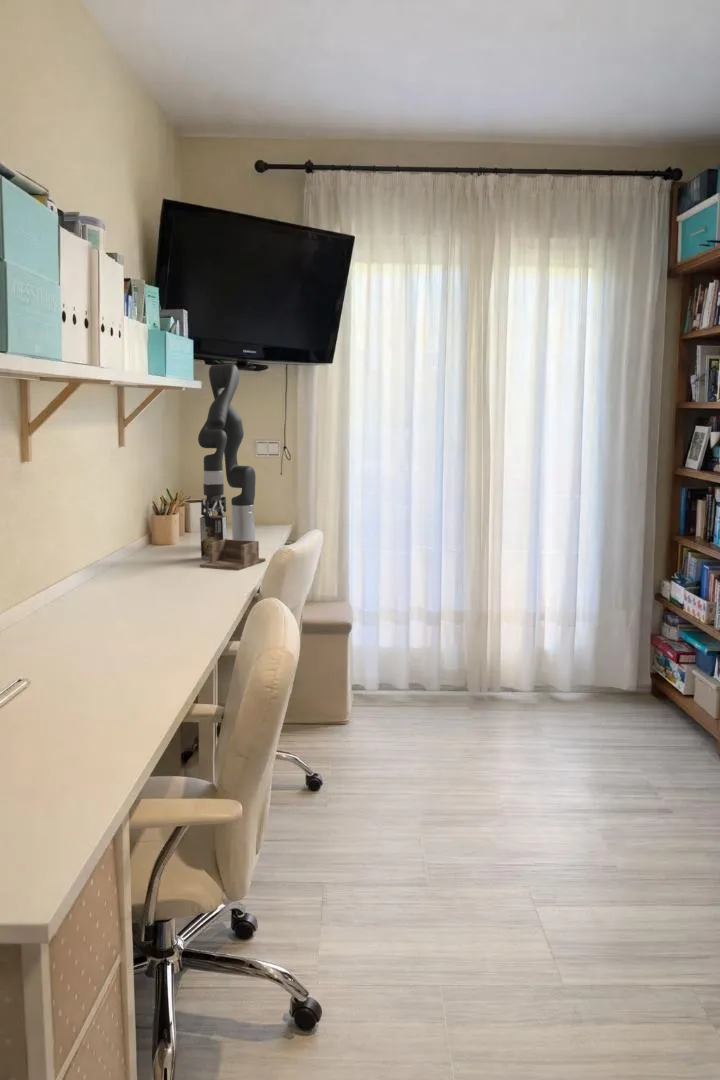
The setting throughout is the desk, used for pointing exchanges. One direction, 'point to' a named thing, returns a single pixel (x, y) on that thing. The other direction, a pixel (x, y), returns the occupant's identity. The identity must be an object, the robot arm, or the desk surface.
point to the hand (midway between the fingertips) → (214, 525)
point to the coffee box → (212, 533)
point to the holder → (233, 554)
